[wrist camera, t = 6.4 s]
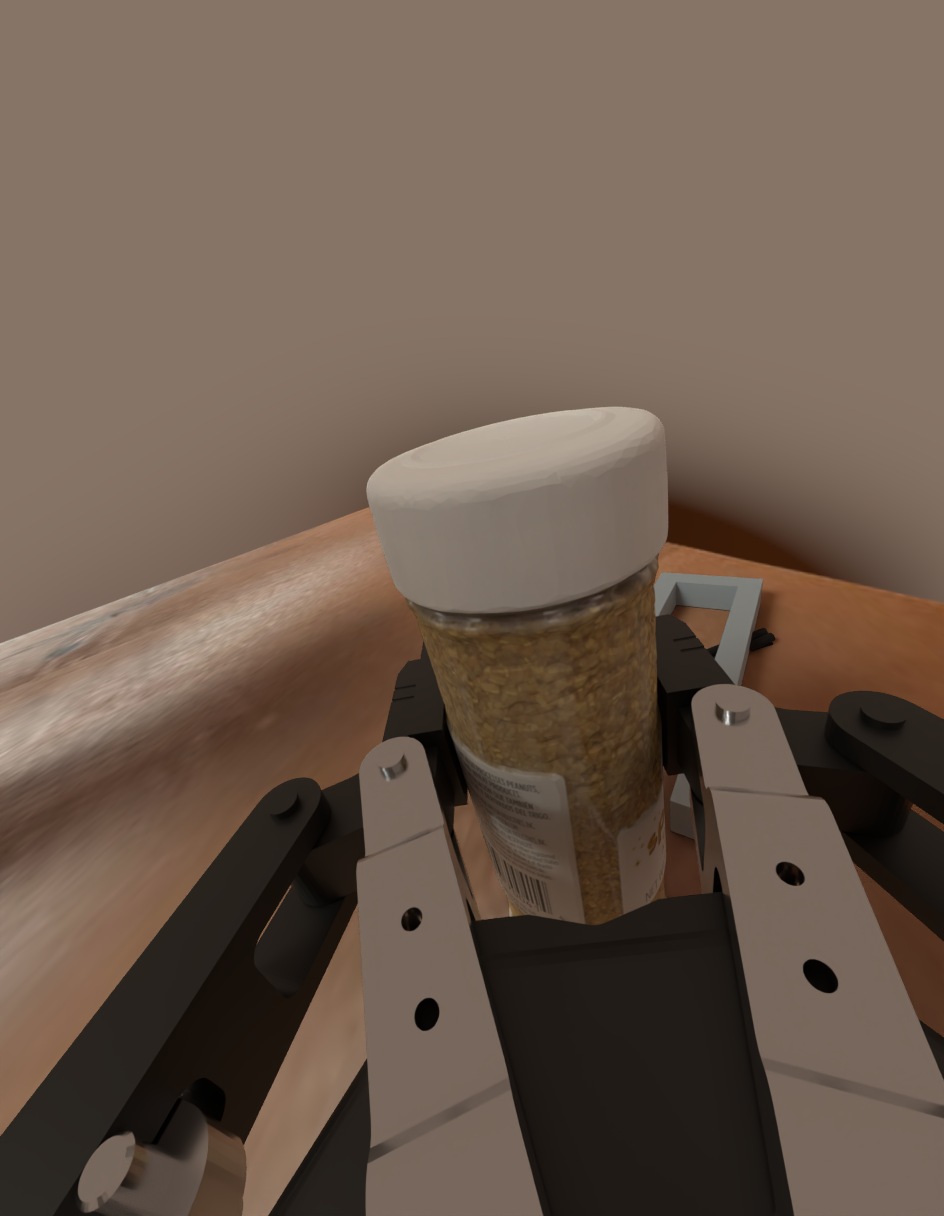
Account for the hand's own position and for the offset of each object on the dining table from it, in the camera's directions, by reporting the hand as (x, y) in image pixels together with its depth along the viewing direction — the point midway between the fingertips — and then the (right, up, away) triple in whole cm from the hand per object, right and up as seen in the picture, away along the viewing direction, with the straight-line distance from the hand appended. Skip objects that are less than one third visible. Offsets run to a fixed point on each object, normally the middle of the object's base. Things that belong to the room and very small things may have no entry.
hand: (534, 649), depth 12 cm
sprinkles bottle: (+2, -8, +1) cm, 8 cm away
